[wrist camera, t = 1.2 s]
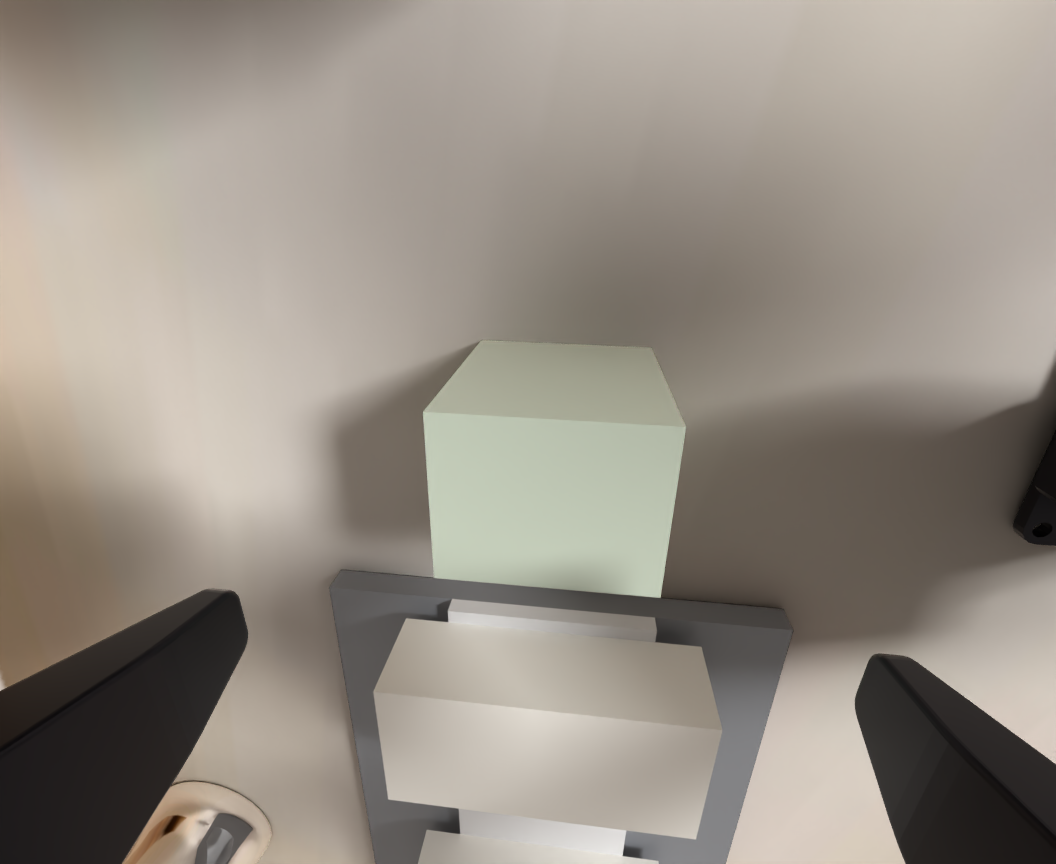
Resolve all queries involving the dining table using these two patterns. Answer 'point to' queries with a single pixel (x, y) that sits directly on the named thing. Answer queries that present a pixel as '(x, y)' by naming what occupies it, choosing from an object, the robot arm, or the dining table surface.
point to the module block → (554, 468)
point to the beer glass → (202, 828)
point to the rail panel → (681, 623)
